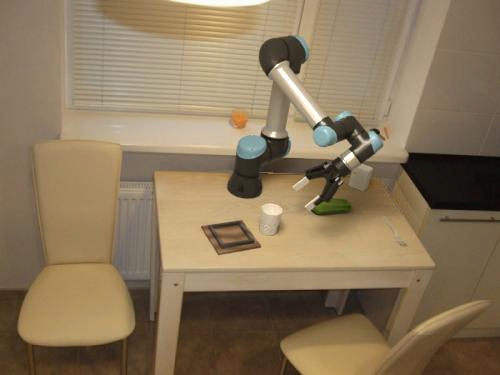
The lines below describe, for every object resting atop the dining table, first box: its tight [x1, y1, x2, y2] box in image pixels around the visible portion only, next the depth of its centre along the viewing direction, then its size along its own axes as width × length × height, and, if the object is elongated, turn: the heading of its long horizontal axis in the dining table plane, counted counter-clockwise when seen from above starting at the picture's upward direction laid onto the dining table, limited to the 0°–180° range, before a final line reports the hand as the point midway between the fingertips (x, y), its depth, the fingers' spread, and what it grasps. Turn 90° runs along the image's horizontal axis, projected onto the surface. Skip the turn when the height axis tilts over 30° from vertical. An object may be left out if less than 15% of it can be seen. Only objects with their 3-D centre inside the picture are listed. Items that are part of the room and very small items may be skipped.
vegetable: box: [311, 197, 355, 215], centre depth 226 cm, size 7×7×20 cm
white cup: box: [258, 202, 283, 237], centre depth 207 cm, size 8×8×10 cm
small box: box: [347, 163, 374, 193], centre depth 248 cm, size 8×6×10 cm
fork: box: [383, 215, 408, 246], centre depth 223 cm, size 3×24×2 cm, turn 9°
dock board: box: [200, 219, 262, 256], centre depth 201 cm, size 17×17×2 cm
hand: (300, 198), depth 205 cm, fingers open, 13 cm apart
